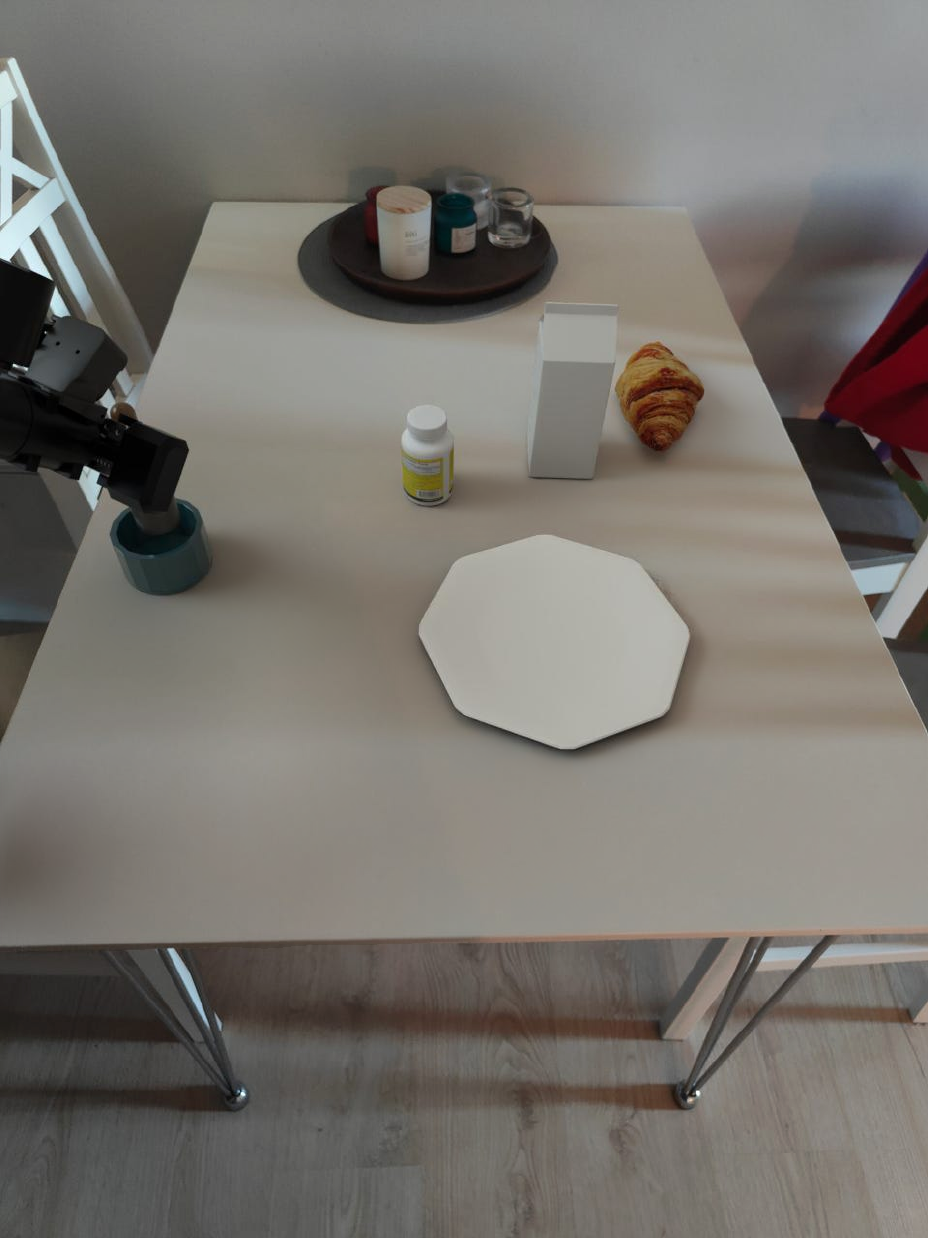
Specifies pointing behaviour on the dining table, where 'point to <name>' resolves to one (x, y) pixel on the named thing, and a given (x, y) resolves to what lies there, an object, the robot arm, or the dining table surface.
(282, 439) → the dining table surface
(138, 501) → the robot arm
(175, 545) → the teal faceted cup
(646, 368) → the croissant
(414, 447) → the supplement bottle
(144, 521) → the coffee tamper
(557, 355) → the milk carton
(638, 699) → the plate
